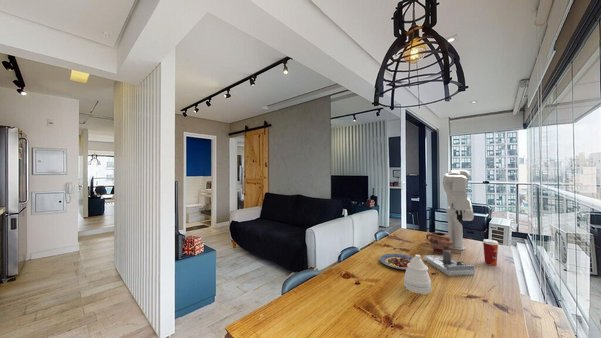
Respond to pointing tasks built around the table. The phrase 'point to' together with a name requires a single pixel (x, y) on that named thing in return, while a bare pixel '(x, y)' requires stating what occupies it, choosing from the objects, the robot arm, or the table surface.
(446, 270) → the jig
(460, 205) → the robot arm
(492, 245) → the coffee cup
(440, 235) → the decorative planter
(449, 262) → the gray cylinder
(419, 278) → the honey pot
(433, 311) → the table surface
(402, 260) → the ceramic plate
